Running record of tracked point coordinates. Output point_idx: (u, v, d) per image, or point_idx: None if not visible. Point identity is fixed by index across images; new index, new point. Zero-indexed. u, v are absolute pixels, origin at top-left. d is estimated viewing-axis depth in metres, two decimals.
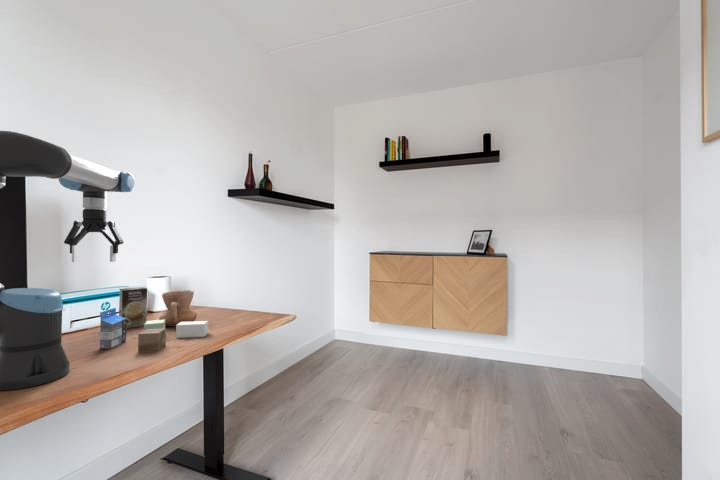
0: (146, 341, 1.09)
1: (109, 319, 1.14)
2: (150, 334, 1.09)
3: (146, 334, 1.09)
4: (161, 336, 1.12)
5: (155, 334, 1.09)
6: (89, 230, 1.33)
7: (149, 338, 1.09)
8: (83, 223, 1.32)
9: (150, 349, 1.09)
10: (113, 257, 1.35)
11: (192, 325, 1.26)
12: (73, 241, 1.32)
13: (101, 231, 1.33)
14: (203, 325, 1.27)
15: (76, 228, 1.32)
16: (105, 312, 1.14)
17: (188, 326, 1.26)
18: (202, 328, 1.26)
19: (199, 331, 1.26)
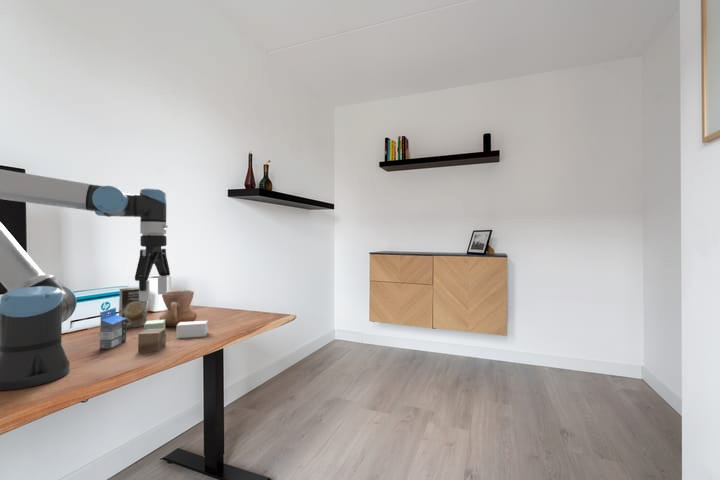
0: (146, 341, 1.09)
1: (109, 319, 1.14)
2: (150, 334, 1.09)
3: (146, 334, 1.09)
4: (161, 336, 1.12)
5: (155, 334, 1.09)
6: None
7: (149, 338, 1.09)
8: None
9: (150, 349, 1.09)
10: (143, 295, 1.05)
11: (193, 325, 1.26)
12: None
13: None
14: (204, 325, 1.27)
15: None
16: (105, 312, 1.14)
17: (188, 326, 1.26)
18: (203, 328, 1.27)
19: (200, 331, 1.27)
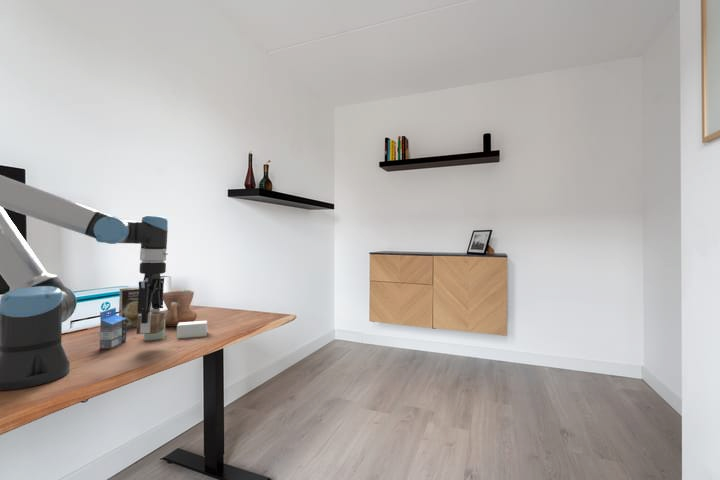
0: None
1: (109, 319, 1.14)
2: None
3: None
4: (160, 319, 1.12)
5: (154, 316, 1.09)
6: None
7: None
8: None
9: None
10: (144, 327, 1.08)
11: (194, 325, 1.26)
12: None
13: None
14: (205, 324, 1.28)
15: None
16: (105, 312, 1.14)
17: (189, 326, 1.26)
18: (204, 328, 1.27)
19: (201, 331, 1.27)
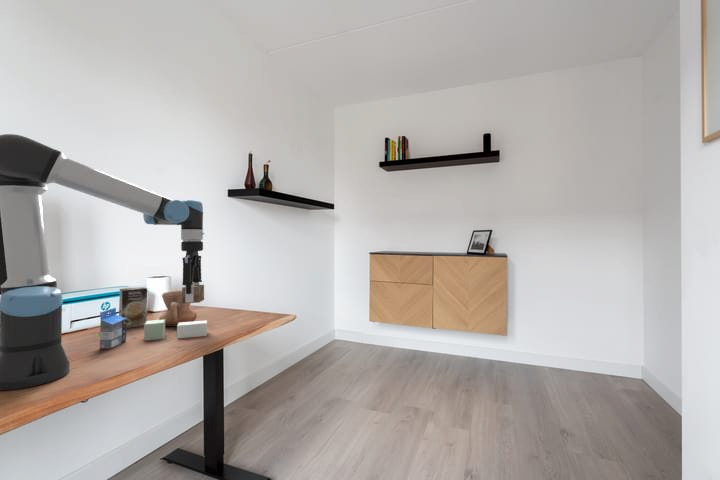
0: None
1: (109, 319, 1.14)
2: None
3: None
4: (201, 290, 1.28)
5: (196, 287, 1.25)
6: None
7: None
8: None
9: None
10: (188, 297, 1.24)
11: (194, 325, 1.26)
12: None
13: None
14: (205, 324, 1.28)
15: None
16: (105, 312, 1.14)
17: (189, 326, 1.26)
18: (204, 327, 1.28)
19: (201, 330, 1.27)
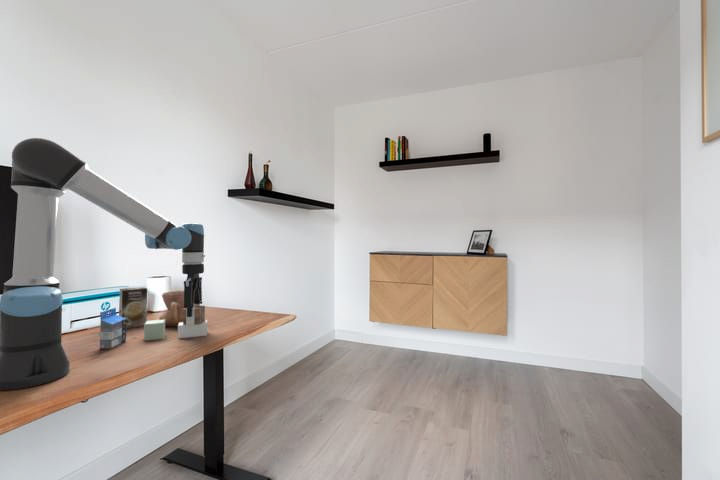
0: None
1: (109, 319, 1.14)
2: None
3: None
4: (202, 311, 1.29)
5: (197, 309, 1.26)
6: None
7: None
8: None
9: None
10: (189, 320, 1.25)
11: (195, 325, 1.26)
12: None
13: None
14: (206, 324, 1.28)
15: None
16: (105, 312, 1.14)
17: (190, 326, 1.26)
18: (205, 327, 1.28)
19: (202, 330, 1.27)
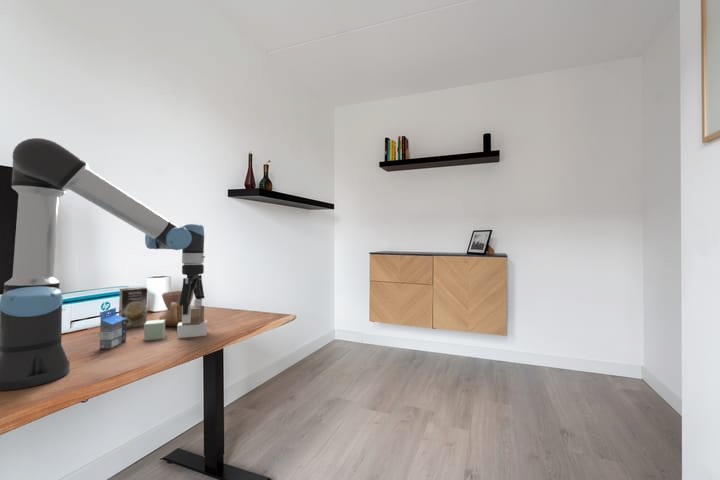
0: None
1: (109, 319, 1.14)
2: (192, 309, 1.25)
3: None
4: (201, 312, 1.29)
5: (196, 309, 1.26)
6: None
7: (191, 313, 1.25)
8: None
9: (192, 322, 1.25)
10: (185, 318, 1.21)
11: (194, 325, 1.26)
12: None
13: None
14: (205, 324, 1.28)
15: None
16: (105, 312, 1.14)
17: (189, 326, 1.26)
18: (204, 327, 1.28)
19: (201, 330, 1.27)
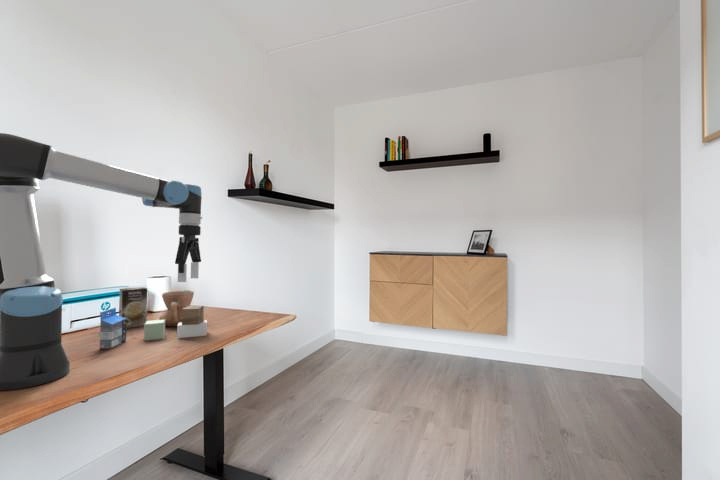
0: (188, 315, 1.25)
1: (109, 319, 1.14)
2: (192, 309, 1.26)
3: (188, 309, 1.25)
4: (201, 311, 1.29)
5: (196, 309, 1.26)
6: None
7: (191, 313, 1.26)
8: None
9: (192, 322, 1.26)
10: (181, 277, 1.20)
11: (194, 325, 1.26)
12: None
13: None
14: (205, 324, 1.28)
15: None
16: (105, 312, 1.14)
17: (189, 326, 1.26)
18: (204, 327, 1.28)
19: (201, 330, 1.27)
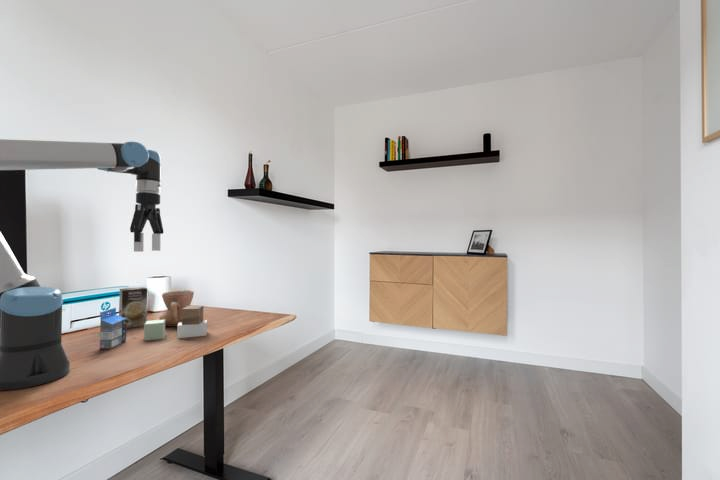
0: (188, 315, 1.26)
1: (109, 319, 1.14)
2: (192, 309, 1.26)
3: (188, 309, 1.26)
4: (201, 311, 1.29)
5: (196, 309, 1.26)
6: None
7: (191, 313, 1.26)
8: None
9: (192, 322, 1.26)
10: (137, 246, 1.14)
11: (194, 325, 1.26)
12: None
13: None
14: (205, 324, 1.28)
15: None
16: (105, 312, 1.14)
17: (189, 326, 1.26)
18: (204, 327, 1.28)
19: (201, 330, 1.27)
